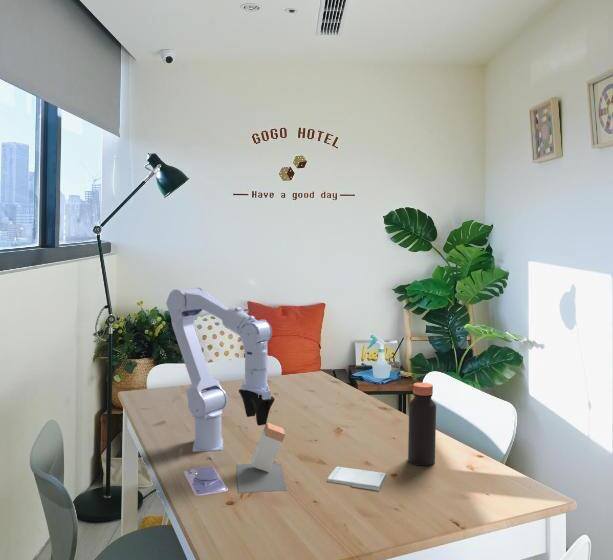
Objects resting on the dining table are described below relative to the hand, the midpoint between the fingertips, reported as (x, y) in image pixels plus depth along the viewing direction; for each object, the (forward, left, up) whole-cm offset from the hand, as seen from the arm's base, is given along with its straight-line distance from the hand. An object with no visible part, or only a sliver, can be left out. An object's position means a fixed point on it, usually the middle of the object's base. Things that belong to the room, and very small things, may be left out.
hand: (256, 420), depth 143 cm
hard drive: (+15, +23, -11) cm, 30 cm away
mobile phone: (+12, -12, -11) cm, 20 cm away
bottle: (+6, +42, -11) cm, 44 cm away
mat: (+11, +1, -10) cm, 15 cm away
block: (+7, +1, -9) cm, 12 cm away
